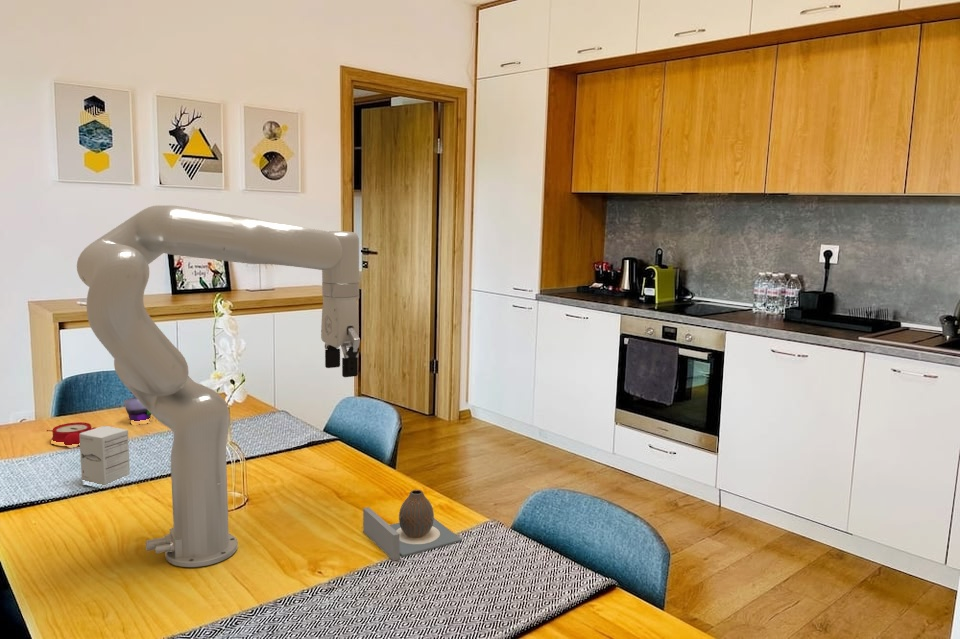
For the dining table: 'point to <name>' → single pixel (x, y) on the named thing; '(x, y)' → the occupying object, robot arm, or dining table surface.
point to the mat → (425, 539)
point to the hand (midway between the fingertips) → (341, 371)
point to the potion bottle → (136, 409)
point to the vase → (416, 515)
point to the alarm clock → (70, 432)
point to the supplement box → (104, 454)
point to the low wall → (381, 533)
